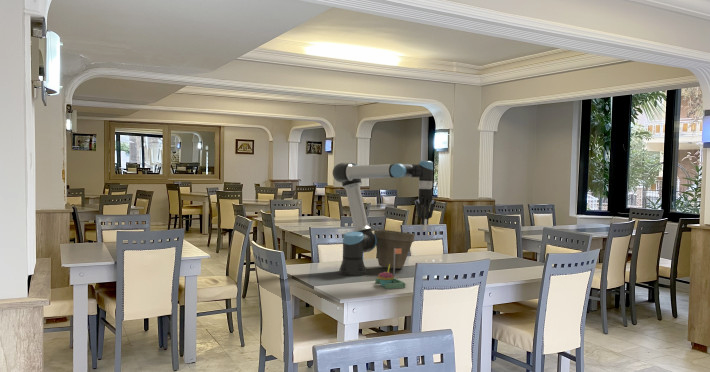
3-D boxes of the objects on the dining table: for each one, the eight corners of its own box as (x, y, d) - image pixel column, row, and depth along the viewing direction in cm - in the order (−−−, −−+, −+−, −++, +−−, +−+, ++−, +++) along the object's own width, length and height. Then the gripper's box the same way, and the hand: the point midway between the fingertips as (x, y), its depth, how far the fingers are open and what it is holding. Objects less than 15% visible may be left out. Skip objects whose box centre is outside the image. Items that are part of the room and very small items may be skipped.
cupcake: (393, 284, 295) (393, 261, 294) (394, 287, 286) (394, 264, 286) (377, 283, 295) (377, 261, 295) (377, 287, 286) (378, 263, 286)
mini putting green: (386, 288, 283) (386, 253, 282) (374, 282, 297) (375, 248, 297) (412, 287, 288) (413, 252, 287) (400, 281, 302) (401, 248, 302)
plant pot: (420, 270, 338) (423, 234, 339) (389, 269, 323) (393, 232, 324) (392, 264, 358) (395, 230, 359) (362, 263, 343) (366, 228, 344)
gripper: (418, 188, 307) (416, 231, 308) (439, 188, 312) (438, 231, 313) (412, 188, 314) (411, 229, 315) (432, 188, 319) (431, 229, 320)
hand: (424, 230), depth 314 cm, fingers closed
